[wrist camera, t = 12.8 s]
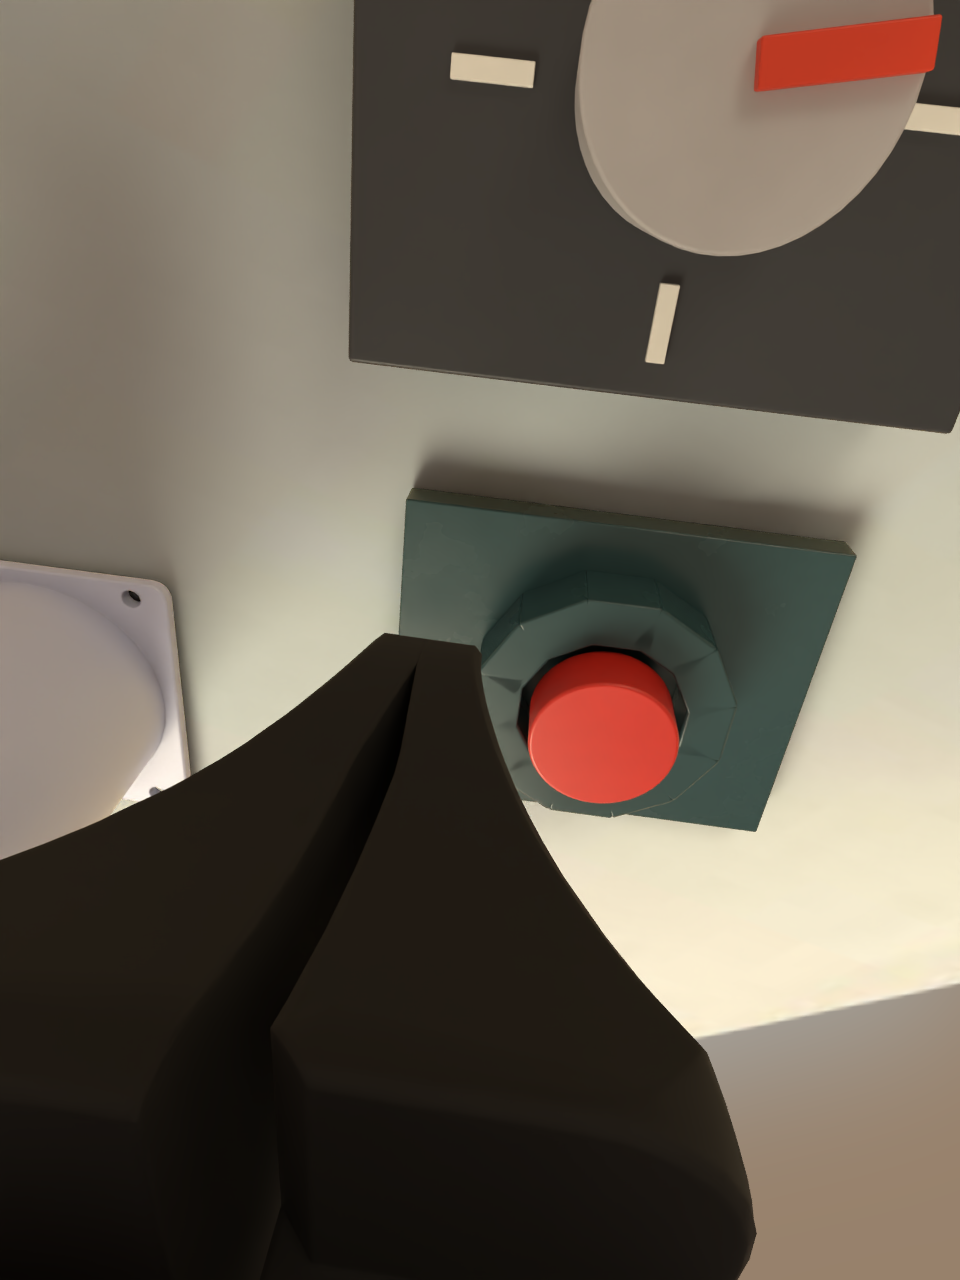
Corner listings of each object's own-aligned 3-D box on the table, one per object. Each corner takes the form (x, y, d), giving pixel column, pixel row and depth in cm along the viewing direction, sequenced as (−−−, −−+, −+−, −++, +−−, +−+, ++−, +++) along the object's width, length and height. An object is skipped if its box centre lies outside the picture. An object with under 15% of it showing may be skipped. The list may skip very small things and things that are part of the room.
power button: (521, 756, 21) (519, 794, 20) (539, 640, 20) (538, 674, 18) (655, 774, 21) (662, 814, 20) (686, 659, 19) (695, 694, 18)
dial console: (377, 337, 19) (345, 363, 16) (397, -280, 14) (356, -398, 11) (897, 399, 18) (955, 437, 15) (1112, -210, 13) (1257, -314, 10)
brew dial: (578, 253, 15) (582, 271, 11) (570, -59, 12) (573, -149, 9) (829, 229, 14) (911, 243, 11) (866, -100, 12) (982, -210, 9)
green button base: (395, 764, 25) (379, 822, 22) (411, 486, 20) (392, 524, 18) (749, 812, 24) (769, 875, 22) (846, 541, 20) (882, 586, 18)
